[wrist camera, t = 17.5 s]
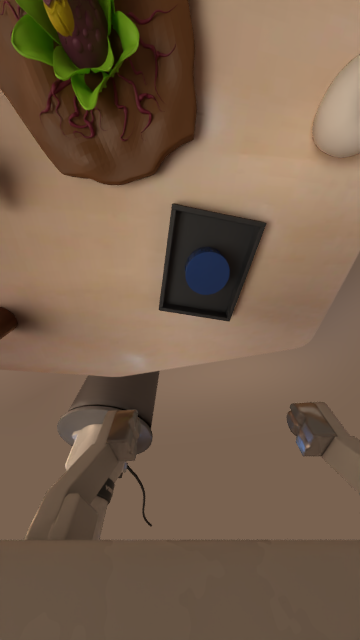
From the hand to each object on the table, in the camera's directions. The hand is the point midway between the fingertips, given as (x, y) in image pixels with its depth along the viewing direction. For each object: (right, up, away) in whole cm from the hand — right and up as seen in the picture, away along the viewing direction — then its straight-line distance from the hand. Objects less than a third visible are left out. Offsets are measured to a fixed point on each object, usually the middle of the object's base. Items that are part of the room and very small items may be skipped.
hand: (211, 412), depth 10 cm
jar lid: (+2, +13, +19) cm, 23 cm away
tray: (+2, +13, +19) cm, 23 cm away
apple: (+15, +27, +11) cm, 32 cm away
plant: (-10, +31, +9) cm, 33 cm away
